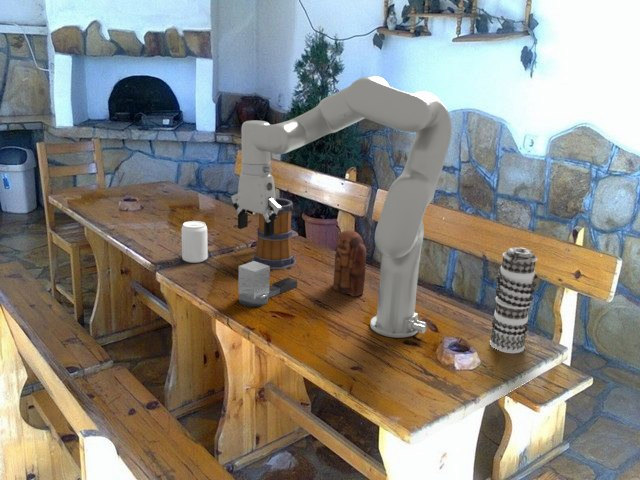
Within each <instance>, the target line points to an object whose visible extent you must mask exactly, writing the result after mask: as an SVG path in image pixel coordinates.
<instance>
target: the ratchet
mask: <svg viewBox="0 0 640 480" xmlns="http://www.w3.org/2000/svg"><path fill="white" fill-rule="evenodd" d="M297 287H298V280H297V279H294V278H291V277H289V276H288V277H286V278H283V279H280V280H278V281H276V282H273V283H272V285H269V293H268V294H266V295H264V296H261V297H259V298H256V299H252V298H249V297H247V296H244V295H242V294H239V293H238V298H239V299H238V302H239V304H241V306H244V307H249V308H260V307H262V306H265V305H267V304H268V302H269V299H271V298H272V297H275V296H276V295H279V294H282V293H286V292H288V291H290V290H292V289H294V288H297Z"/></svg>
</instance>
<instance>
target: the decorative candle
mask: <svg viewBox="0 0 640 480" xmlns="http://www.w3.org/2000/svg"><path fill="white" fill-rule="evenodd" d="M538 260H539V258H538V257H537V256H536V255H535V253H534V252H533V251H532V250H531V249H528V248H525V247H520V246H519V247H518V246H514V247H509V248H508V249H507V251H504V252H503V253H502V263H501V264H502V265H501V266H500V267H499V268H498V270H497V271H496V274H497V276H496V282H497V284H495V287H496V290H495V296H496V297H495V299H494V300H495V302H496V305H495V310H494V315H493V316H492V322H491V329H490V335H489V338H490V340H489V342H490V343H489V345H491V348H493V349H494V348H495V349H494V350H496V349H497V351H498V350H499V351H498V352H502V353H507V354H518V353H522V352H524V350H525V345H526V339H527V332H528V326H529V321H528V319H529V315H528V313H529V308H530V307H531V306H532V301H533V300H534V297H533V295H532V294H533V293H535V291H536V289H534V288H536V287H535V286H536V285H537V283H535V281H533V280H536V279H538V275H537V274H536V270H535V268H536V262H537V261H538Z"/></svg>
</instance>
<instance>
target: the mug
mask: <svg viewBox="0 0 640 480" xmlns="http://www.w3.org/2000/svg"><path fill="white" fill-rule="evenodd" d="M276 202H277V203H278V204H279V205H280V206H281V207H282V210H281V212H280V214H279V217H278V218H277V219H276V220H275V221H274V234H273V235H271V236H268V237H266V236H264V222H266V220H265V218H264V216H263V214H259V213H258V227H257V229H256V230H257V231H256V233H257V234H256V235H257V240H256V247H255V248H256V249H255V251H254V253H253V257H252V258H251V262H252V261H256V262H259V263H262V264H265V265H268V266H270V270H283V269H287V268H291V267H293V266H294V265H296V264H297V263H296V262H297V261H296V258H295V253H294V251H293V243H292V236H293V230H292V212H293V210H294V203H293V202H292V200H289V199H287V198H282V197H281V198H280V197H276ZM273 213H274V211H273ZM267 214H268V215H269V213H267ZM269 216H270V215H269Z"/></svg>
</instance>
